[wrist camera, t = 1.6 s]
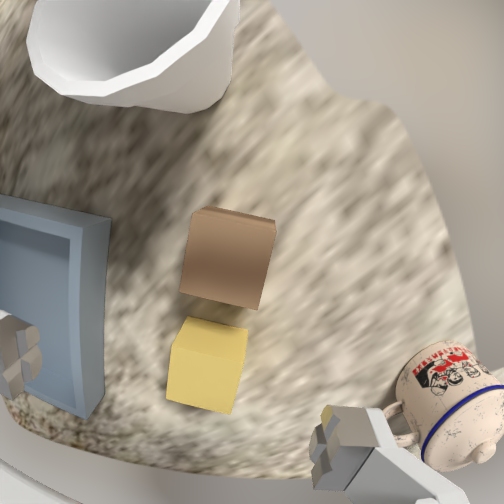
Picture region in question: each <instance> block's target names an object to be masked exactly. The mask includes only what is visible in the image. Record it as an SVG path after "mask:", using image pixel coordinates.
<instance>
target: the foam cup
mask: <svg viewBox="0 0 504 504" xmlns="http://www.w3.org/2000/svg"><path fill="white" fill-rule="evenodd" d="M239 21H240V0H38V1H37V2H36V4H35V7H34V10H33V14H32V18H31V22H30V26H29V31H28V35H27V40H26V44H27V48H28V52H29V56H30V60H31V64H32V68H33V72H34V74H35V75H36V76H37V77H38V78H40V79H41V80H42V81H44V82H45V83H46V84H47V85H49V86H50V87H51V88H53V89H54V90H55V91H56V92H58V93H59V94H60V95H63V96H66V97H69V98H72V99H75V100H78V101H82V102H85V103H88V104H95V105H108V106H119V107H132V106H140V107H146V108H152V109H158V110H164V111H170V112H177V113H184V114H191V113H194V112H198V111H202V110H205V109H208V108H209V107H210V106H211V105H213V104H214V103H215V102H216V101H218V100H219V99H220V98H222V96H223V94H224V93H225V91H226V89H227V87H228V85H229V83H230V81H231V72H232V57H233V42H234V29H235V28H236V26H237V24H238V23H239Z"/></svg>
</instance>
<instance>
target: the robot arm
mask: <svg viewBox="0 0 504 504" xmlns="http://www.w3.org/2000/svg"><path fill="white" fill-rule="evenodd" d="M39 341H40V335H39V330H38V329H37V327H36V326H34V325H32V324H30V323H28V322H26V321H24V320H22V319H20V318H18V317H16V316H14V315H11V314H10V313H8V312H6V311H4V310H0V394H1V395H3V396H5V397H7V398H8V399H10V400H12V401H13V400H14V399H15V398H16V397H17V396H18V395H19V394H20V393H21V392H22V391H23V390H24V389H25V383H26V382H30V381H33V380H34V379H35V378H36V377H37V376H38V374H39V372H40V370H41V367H42V353H41V351H40V349H39V347H38V346H37V344H38V342H39ZM321 420H322V423H321V424H320V425H318V426H317V427H315V429H314V431H313V433H312V436H311V440H310V444H309V457H310V460H311V461H312V462H313V463H314V464H315V465H314V467H313V469H312V470H311V474H312V482H313V489H314V490H329V491H344V494H345V495H346V496H347V497H348V498H349V499H350V501H351V502H352V503H353V504H470V503H469V501H468V499H467V497H466V495H465V493H464V491H463V490H462V489H461V488H459V487H458V486H456V485H455V484H453V483H452V482H450V481H449V480H447V479H446V478H444V477H443V476H442V475H440V474H439V473H437V472H436V471H435V470H433V469H432V468H430V467H429V466H428V465H426V464H425V463H423V462H422V461H421V460H419V459H418V458H417V457H415V456H414V455H412V454H411V453H410V452H408V451H407V450H406V449H404V448H403V447H402V448H398V446H397V444H396V441H395V439H394V437H393V434H392V432H391V430H390V427H389V425H388V423H387V421H386V418H385V416H384V414H383V411H382V410H381V409H379V408H365V407H362V408H357V407H345V406H335V405H327V406H326V407H325V408H324V410H323V412H322V414H321ZM0 504H82V503H80V502H77V501H75V500H73V499H71V498H69V497H67V496H64V495H63V494H61V493H59V492H57V491H55V490H53V489H51V488H49V487H47V486H45V485H43V484H41V483H39V482H38V481H36V480H34V479H33V478H31V477H29V476H27V475H26V474H24V473H22V472H21V471H19V470H17V469H16V468H14V467H13V466H11V465H9V464H8V463H6V462H5V461H3V460H2V459H0Z"/></svg>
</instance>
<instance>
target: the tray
mask: <svg viewBox="0 0 504 504" xmlns="http://www.w3.org/2000/svg"><path fill="white" fill-rule="evenodd" d="M111 220H112V219H111V218H107V217H102V216H98V215H93V214H89V213H84V212H80V211H75V210H71V209H66V208H62V207H57V206H53V205H48V204H44V203H39V202H35V201H30V200H26V199H21V198H17V197H12V196H7V195H3V194H0V310H4V311H6V312H8V313H10V314H11V315H14V316H16V317H18V318H20V319H22V320H24V321H26V322H28V323H30V324H32V325H34V326H36V327H37V329H38V330H39V335H40V341H39V342H38V344H37V346H38V347H39V349H40V351H41V353H42V367H41V370H40V372H39V374H38V376H37V377H36V378H35V379H34V380H33V381H30V382H26V383H25V389H24V391H26V392H28V393H30V394H32V395H33V396H35V397H37V398H39V399H41V400H43V401H45V402H47V403H49V404H51V405H54V406H56V407H58V408H60V409H62V410H64V411H66V412H69V413H71V414H73V415H75V416H78V417H80V418H82V419H85V420H87V419H88V418H89V416H90V415H91V413H92V412H93V411H94V409H95V408H96V406H97V405H98V403H99V402H100V400H101V399H102V397H103V396H104V394H105V383H104V307H105V286H106V271H107V258H108V248H109V238H110V229H111Z"/></svg>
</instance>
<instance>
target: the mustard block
mask: <svg viewBox="0 0 504 504" xmlns="http://www.w3.org/2000/svg"><path fill="white" fill-rule="evenodd" d="M247 336H248V330H246V329H242V328H237V327H233V326H228V325H224V324H219V323H215V322H211V321H207V320H202V319H198V318H194V317H190V316H187V318H186V320H185V322H184V324H183V326H182V327H181V329H180V331H179V333H178V335H177V337H176V338H175V340H174V342H173V344H172V347H171V355H170V363H169V372H168V382H167V391H166V399H168V400H172V401H175V402H179V403H183V404H187V405H191V406H195V407H199V408H203V409H207V410H212V411H216V412H221V413H225V414H230V415H231V411H232V407H233V404H234V400H235V396H236V392H237V388H238V384H239V381H240V377H241V373H242V369H243V365H244V360H245V352H246V344H247Z"/></svg>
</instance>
